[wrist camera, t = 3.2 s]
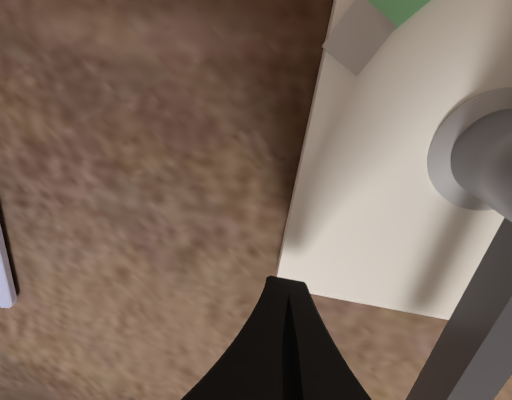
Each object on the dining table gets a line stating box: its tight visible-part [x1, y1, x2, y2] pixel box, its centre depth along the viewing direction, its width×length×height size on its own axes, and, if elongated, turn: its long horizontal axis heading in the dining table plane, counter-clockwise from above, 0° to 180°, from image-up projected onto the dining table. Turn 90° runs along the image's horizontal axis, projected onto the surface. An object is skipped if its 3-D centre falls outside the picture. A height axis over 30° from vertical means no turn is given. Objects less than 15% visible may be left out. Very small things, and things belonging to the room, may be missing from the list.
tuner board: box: [275, 0, 512, 320], centre depth 10 cm, size 12×14×1 cm
